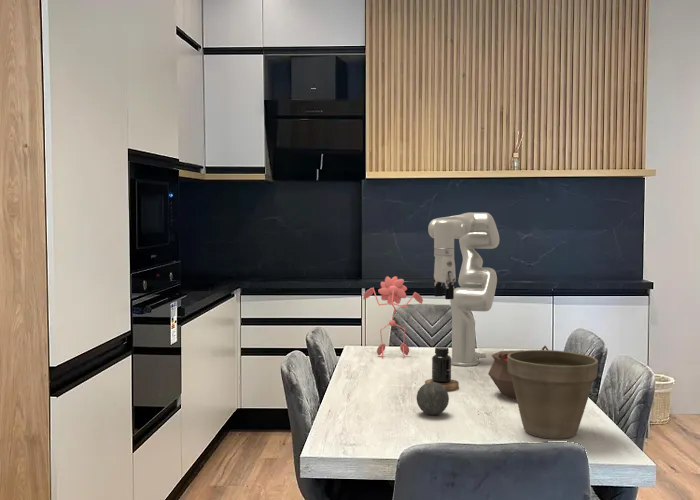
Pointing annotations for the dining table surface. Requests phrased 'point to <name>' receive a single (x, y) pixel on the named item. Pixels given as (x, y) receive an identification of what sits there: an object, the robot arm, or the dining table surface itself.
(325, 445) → the dining table surface
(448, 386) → the stand
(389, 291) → the figurine
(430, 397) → the decorative ball
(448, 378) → the supplement bottle
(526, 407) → the plant pot
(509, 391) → the brown faceted vessel
